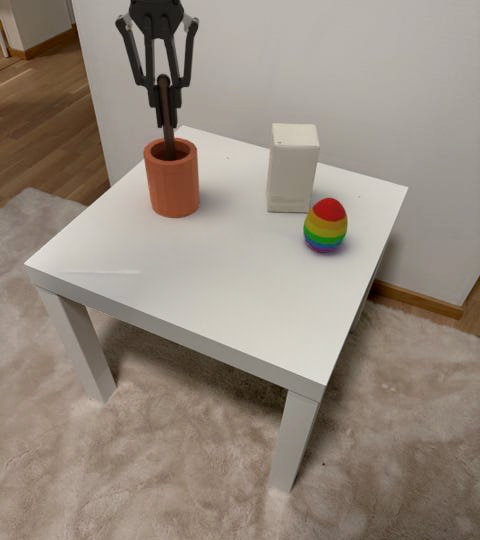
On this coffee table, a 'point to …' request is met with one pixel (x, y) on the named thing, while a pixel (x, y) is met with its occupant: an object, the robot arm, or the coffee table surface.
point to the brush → (166, 116)
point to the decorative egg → (325, 225)
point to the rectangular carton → (292, 167)
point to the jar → (172, 178)
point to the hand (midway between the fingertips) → (167, 124)
